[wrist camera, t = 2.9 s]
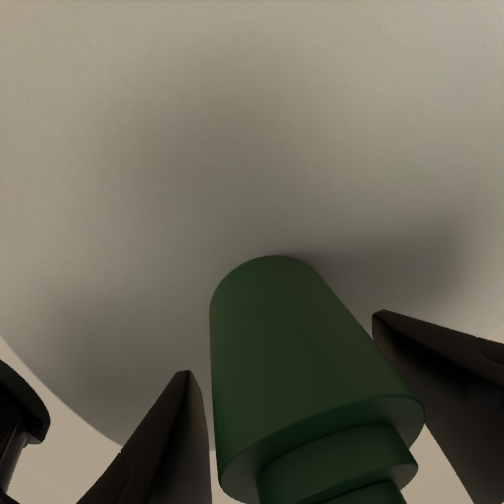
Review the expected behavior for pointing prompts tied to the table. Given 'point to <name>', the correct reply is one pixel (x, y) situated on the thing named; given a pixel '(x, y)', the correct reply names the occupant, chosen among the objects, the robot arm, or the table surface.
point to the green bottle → (304, 394)
